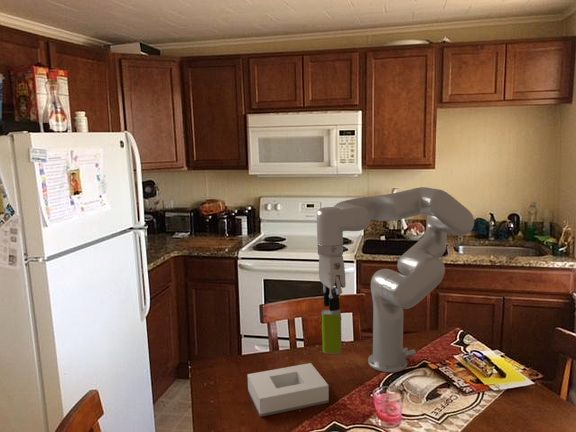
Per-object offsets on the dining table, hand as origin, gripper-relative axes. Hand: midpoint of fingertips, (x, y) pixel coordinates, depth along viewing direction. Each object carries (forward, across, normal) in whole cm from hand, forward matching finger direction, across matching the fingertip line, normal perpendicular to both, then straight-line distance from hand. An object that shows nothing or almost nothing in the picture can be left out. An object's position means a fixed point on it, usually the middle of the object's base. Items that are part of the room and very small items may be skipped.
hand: (331, 307), depth 146 cm
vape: (+15, 0, 0) cm, 15 cm away
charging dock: (+23, -6, +17) cm, 29 cm away
